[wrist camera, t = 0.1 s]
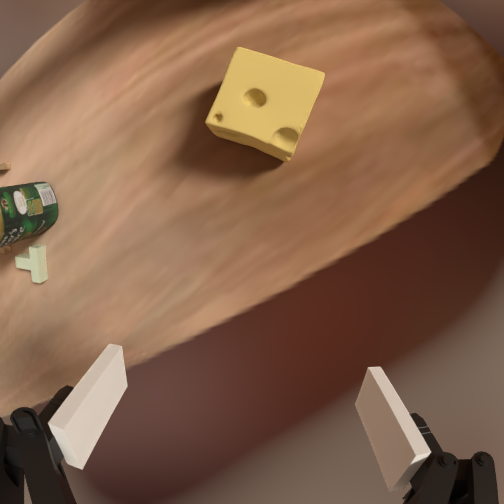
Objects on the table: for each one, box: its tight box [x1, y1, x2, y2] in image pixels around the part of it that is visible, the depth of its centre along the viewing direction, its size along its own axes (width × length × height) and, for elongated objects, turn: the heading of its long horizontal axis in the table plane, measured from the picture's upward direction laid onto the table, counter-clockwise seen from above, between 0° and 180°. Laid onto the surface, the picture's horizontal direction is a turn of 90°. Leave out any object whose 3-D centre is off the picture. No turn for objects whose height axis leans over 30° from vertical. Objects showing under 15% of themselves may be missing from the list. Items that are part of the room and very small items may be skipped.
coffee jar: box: [0, 182, 58, 248], centre depth 31 cm, size 10×8×19 cm
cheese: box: [205, 47, 325, 162], centre depth 32 cm, size 10×11×10 cm
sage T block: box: [15, 244, 48, 283], centre depth 41 cm, size 6×6×2 cm
